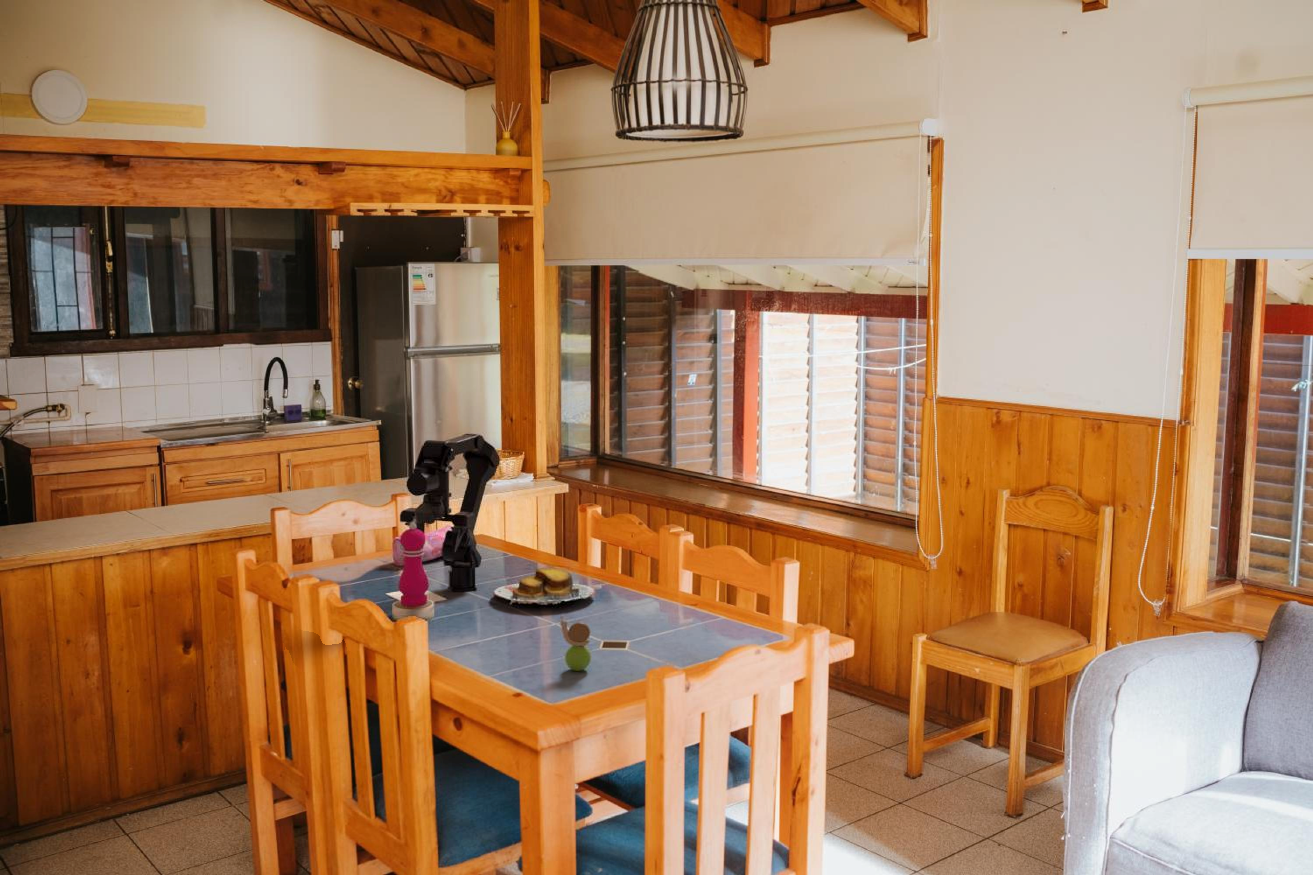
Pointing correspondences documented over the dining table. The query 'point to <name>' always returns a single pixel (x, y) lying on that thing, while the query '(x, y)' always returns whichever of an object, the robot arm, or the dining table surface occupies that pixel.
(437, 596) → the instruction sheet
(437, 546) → the pencil case
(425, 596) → the pepper mill
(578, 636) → the snail figurine
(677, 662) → the dining table surface
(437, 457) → the robot arm
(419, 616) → the round bowl
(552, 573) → the food on plate
